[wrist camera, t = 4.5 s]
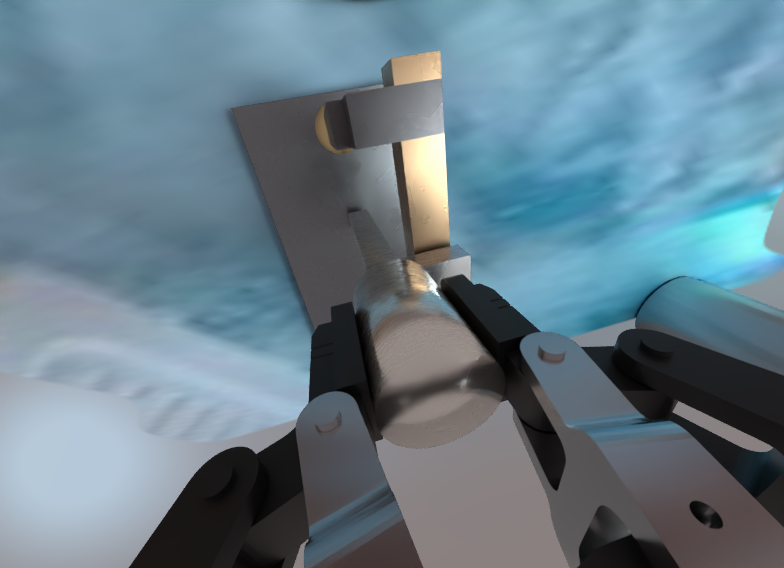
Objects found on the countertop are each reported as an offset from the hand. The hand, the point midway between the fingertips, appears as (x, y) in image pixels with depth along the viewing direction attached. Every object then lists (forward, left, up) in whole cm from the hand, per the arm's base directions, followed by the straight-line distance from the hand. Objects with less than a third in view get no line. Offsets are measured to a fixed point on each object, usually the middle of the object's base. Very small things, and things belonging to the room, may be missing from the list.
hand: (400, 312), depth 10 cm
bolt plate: (0, +3, -15) cm, 15 cm away
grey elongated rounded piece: (-1, 0, -13) cm, 13 cm away
